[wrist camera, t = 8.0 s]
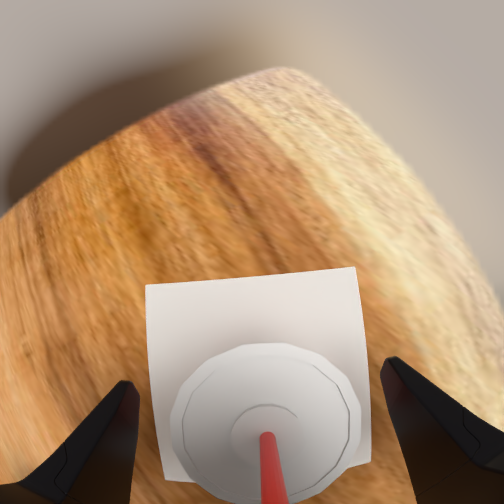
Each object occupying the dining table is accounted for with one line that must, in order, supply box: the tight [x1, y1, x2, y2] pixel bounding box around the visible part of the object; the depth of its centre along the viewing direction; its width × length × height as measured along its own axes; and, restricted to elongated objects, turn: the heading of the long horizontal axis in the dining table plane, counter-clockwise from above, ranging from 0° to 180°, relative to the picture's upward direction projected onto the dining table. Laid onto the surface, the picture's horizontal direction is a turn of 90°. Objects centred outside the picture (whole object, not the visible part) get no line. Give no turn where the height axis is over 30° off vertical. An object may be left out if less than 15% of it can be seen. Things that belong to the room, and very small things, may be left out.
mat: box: [146, 267, 371, 482], centre depth 16 cm, size 14×14×1 cm
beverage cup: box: [170, 342, 361, 504], centre depth 9 cm, size 6×6×14 cm
